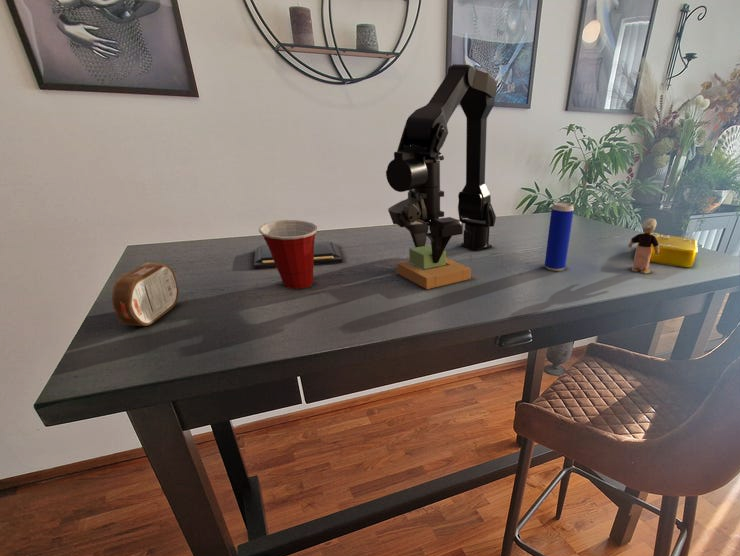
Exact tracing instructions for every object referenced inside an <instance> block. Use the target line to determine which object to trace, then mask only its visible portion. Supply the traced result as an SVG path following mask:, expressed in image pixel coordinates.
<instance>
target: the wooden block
mask: <svg viewBox="0 0 740 556" xmlns="http://www.w3.org/2000/svg"><path fill="white" fill-rule="evenodd" d="M396 264H397V266H396V267H397V268H396V269H397V274H398V275H399V276H401V277H403V278H405V279H407V280H409V281H411V282H412V283H414V284H416V285H418V286H419V287H422V288H423V289H425V290H429V289H434V288H438V287H443V286H447V285H451V284H455V283H460V282H463V281H468V280H471V276H472V275H471V272H472V269H471V267H468V266H466V265H463V264H461V263H459V262H457V261H455V260H452V259H450V258H448V257H446V265H443V266H438V267H434V268H429V269H422V268H420V267H418V266H416V265H414V264H412V263H410V262H407V261H401V262H397V263H396Z"/></svg>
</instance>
